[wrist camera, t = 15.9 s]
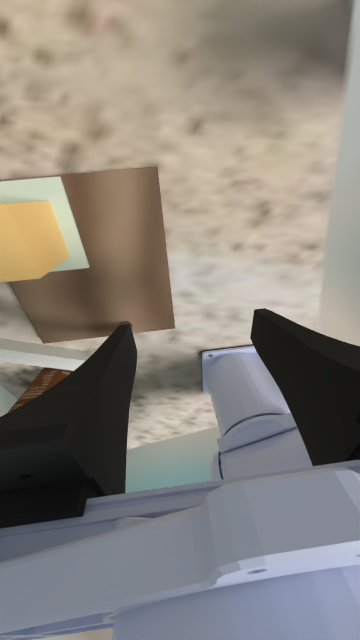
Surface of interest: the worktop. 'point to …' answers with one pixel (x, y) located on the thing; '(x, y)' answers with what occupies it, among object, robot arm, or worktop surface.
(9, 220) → the plug block
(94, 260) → the brown tray
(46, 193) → the sage mat
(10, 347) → the strap
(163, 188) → the worktop surface
